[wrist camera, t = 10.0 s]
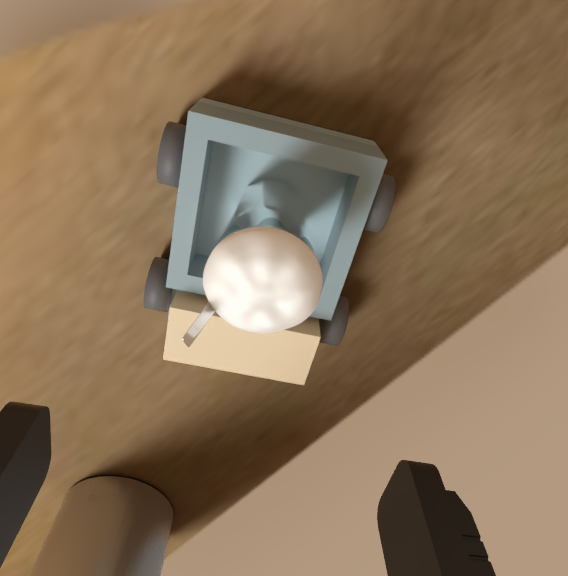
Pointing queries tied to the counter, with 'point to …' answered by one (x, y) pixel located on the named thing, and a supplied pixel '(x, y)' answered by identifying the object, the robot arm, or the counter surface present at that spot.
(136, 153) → the counter surface
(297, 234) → the milkshake
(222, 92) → the counter surface
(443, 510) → the robot arm
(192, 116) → the chassis
